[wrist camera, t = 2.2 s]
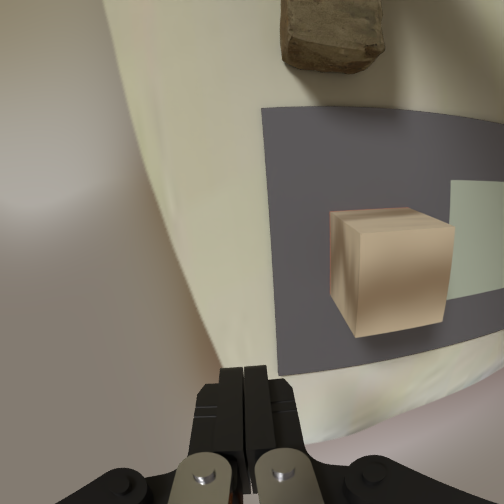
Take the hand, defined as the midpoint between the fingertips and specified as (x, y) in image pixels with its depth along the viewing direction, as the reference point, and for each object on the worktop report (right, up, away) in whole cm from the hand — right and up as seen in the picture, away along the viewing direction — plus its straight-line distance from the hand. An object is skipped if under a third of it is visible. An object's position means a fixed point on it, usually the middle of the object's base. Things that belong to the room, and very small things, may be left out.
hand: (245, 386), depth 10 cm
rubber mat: (+15, +5, +12) cm, 20 cm away
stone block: (+5, +22, +7) cm, 23 cm away
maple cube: (+9, +5, +12) cm, 15 cm away
